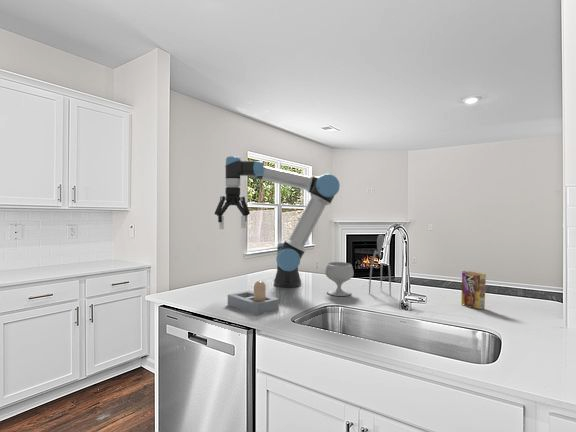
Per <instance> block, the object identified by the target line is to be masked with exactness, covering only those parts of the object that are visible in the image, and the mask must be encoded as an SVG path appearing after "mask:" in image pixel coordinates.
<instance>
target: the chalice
mask: <svg viewBox="0 0 576 432" xmlns="http://www.w3.org/2000/svg"><path fill="white" fill-rule="evenodd" d="M324 271H325V276H326V277H327V278H328V279H329V280H331V281H332V282H334V283H335V284H336V286H337V288H336V289H331V290H328V291H326V293H327V295H330V296H334V297H346V296H351V295H352V292H351V291H349V290H344V289H342V286H343V284H344V283H345V282H348V281H349V280H351V279H352V278H353V277H354V274H355V273H354V268H353V265H352V264H351V263H349V262H345V261H344V262H342V261H335V262H334V261H332V262H328V263H327V264H326V268H325V270H324Z"/></svg>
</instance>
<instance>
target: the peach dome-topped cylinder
mask: <svg viewBox="0 0 576 432" xmlns="http://www.w3.org/2000/svg"><path fill="white" fill-rule="evenodd" d="M266 288H267V285H266V283H265V282H264V281H262V280H257V281H255V283H254V284H253V292H254V300H253V301H256V302H261V301H265V297H266V295H267V292H266V290H267V289H266Z"/></svg>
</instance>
